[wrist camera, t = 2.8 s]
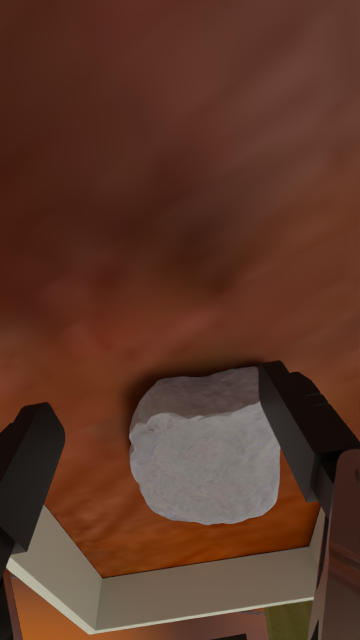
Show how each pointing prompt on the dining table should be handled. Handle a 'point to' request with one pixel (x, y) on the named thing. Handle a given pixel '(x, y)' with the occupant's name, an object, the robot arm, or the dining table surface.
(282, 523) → the dining table surface
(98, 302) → the dining table surface
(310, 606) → the plant pot
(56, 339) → the dining table surface
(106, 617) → the cream u-shaped barrier
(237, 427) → the stone block
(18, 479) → the robot arm
